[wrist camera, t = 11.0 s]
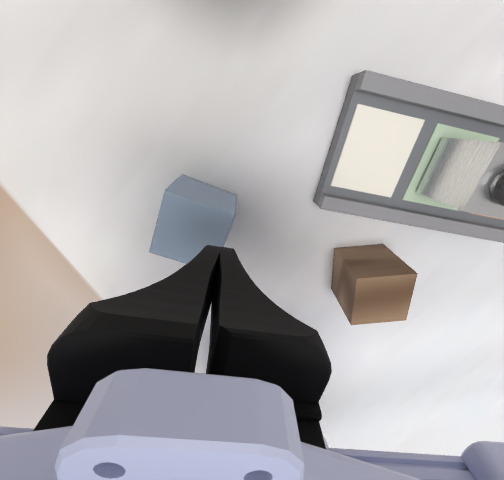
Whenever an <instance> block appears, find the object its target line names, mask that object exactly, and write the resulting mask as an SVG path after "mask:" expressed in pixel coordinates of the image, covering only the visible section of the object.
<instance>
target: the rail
mask: <svg viewBox="0 0 504 480" xmlns="http://www.w3.org/2000/svg"><path fill="white" fill-rule="evenodd" d="M442 137H444V138H456V139H468V140H480V141H492V142H503V143H504V106H502V105H498V104H494V103H490V102H486V101H483V100H479V99H475V98H471V97H467V96H463V95H459V94H456V93H452V92H448V91H444V90H440V89H436V88H433V87H429V86H425V85H421V84H417V83H413V82H410V81H406V80H402V79H398V78H394V77H390V76H387V75H383V74H379V73H375V72H371V71H367V70H365V71H363V72H360V73H358V74H355V75H353V76H352V79H351V82H350V85H349V88H348V92H347V95H346V98H345V101H344V104H343V108H342V111H341V114H340V117H339V121H338V124H337V127H336V130H335V133H334V137H333V140H332V143H331V146H330V149H329V153H328V156H327V159H326V162H325V166H324V169H323V172H322V175H321V178H320V182H319V185H318V188H317V191H316V195H315V198H314V202H315V203H316V204H317V205H318V206H319V208H320V209H324V210H329V211H335V212H340V213H346V214H351V215H356V216H362V217H367V218H373V219H378V220H383V221H389V222H394V223H400V224H405V225H410V226H416V227H421V228H427V229H432V230H437V231H443V232H448V233H454V234H459V235H465V236H470V237H475V238H481V239H486V240H492V241H497V242H502V243H504V219H500V218H495V217H490V216H485V215H480V214H475V213H470V212H465V211H461V210H458V209H456V208H454V207H451V206H449V205H446V204H444V203H441V202H439V201H436V200H434V199H432V198H429V197H427V196H424V195H422V194H419V193H417V192H416V191H417V189H418V187H419V185H420V183H421V181H422V179H423V177H424V174H425V172H426V170H427V168H428V166H429V164H430V162H431V160H432V158H433V156H434V154H435V151H436V149H437V147H438V145H439V143H440V141H441V139H442Z"/></svg>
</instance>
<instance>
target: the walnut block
mask: <svg viewBox="0 0 504 480" xmlns="http://www.w3.org/2000/svg"><path fill="white" fill-rule="evenodd" d="M416 277H417V273H416V272H415V271H414V270H413V269H412V268H410V267H409V266H408V265H407V264H406V263H405V262H403V261H402V260H401V259H400V258H399V257H398V256H396V255H395V254H394V253H393V252H392V251H391V250H389V249H388V248H387V247H386V246H385V245H384V244H378V245H366V246H354V247H342V248H334V258H333V271H332V284H331V289H332V291H333V293H334V295H335V296H336V298H337V300H338V302H339V304H340V306H341V307H342V309H343V311H344V313H345V315H346V317H347V319H348V320H349V322H350V324H351V325H357V324H368V323H380V322H391V321H403V320H406V318H407V314H408V310H409V306H410V302H411V298H412V294H413V290H414V285H415V281H416Z"/></svg>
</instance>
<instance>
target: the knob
mask: <svg viewBox="0 0 504 480" xmlns="http://www.w3.org/2000/svg"><path fill="white" fill-rule="evenodd" d="M416 192H417V193H419V194H422V195H424V196H427V197H429V198H432V199H434V200H436V201H439V202H441V203H444V204H446V205H449V206H451V207H454V208H456V209H458V210H461V211H465V212H470V213H475V214H480V215H485V216H490V217H495V218H500V219H504V143H503V142H492V141H480V140H468V139H456V138H444V137H442V139H441V141H440V143H439V145H438V147H437V149H436V151H435V154H434V156H433V158H432V160H431V162H430V164H429V166H428V168H427V170H426V172H425V174H424V177H423V179H422V181H421V183H420V185H419V187H418V189H417V191H416Z"/></svg>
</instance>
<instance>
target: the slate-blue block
mask: <svg viewBox="0 0 504 480" xmlns="http://www.w3.org/2000/svg"><path fill="white" fill-rule="evenodd" d="M235 210H236V195H235V194H233V193H230V192H227V191H225V190H222V189H219V188H217V187H214V186H211V185H209V184H206V183H203V182H201V181H198V180H195V179H193V178H190V177H187V176H185V175H181V176H180V177H179V178H178V179H177V180H176V181H175V182H174V183H172V184H171V185H170V186H169V187H168V188H167V189H166V190H165V192H164V196H163V200H162V204H161V208H160V212H159V216H158V219H157V223H156V227H155V231H154V235H153V239H152V243H151V247H150V250H149V252H150V253H154V254H157V255H160V256H163V257H167V258H170V259H173V260H176V261H180V262H183V263H186V264H187V263H188V262H190V261H191V260H192V259H193V258H194V257H195V256H196V255H197V254H198V253H199V252H200V251H201V250H202V249H203V248H204V247H205V246H206V245H212V246H219V247H223V245H224V243H225V240H226V238H227V235H228V233H229V230H230V227H231V225H232V222H233V220H234V217H235Z"/></svg>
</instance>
